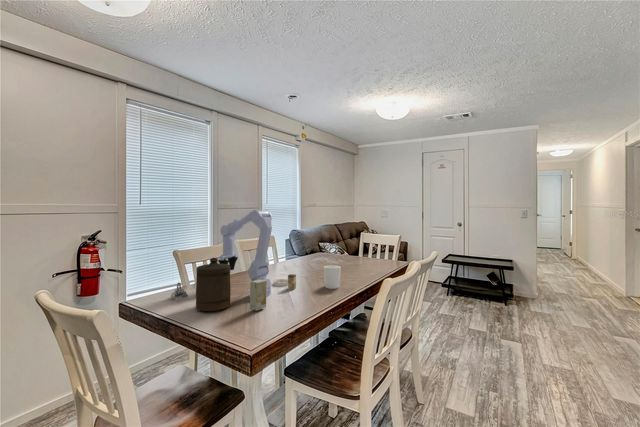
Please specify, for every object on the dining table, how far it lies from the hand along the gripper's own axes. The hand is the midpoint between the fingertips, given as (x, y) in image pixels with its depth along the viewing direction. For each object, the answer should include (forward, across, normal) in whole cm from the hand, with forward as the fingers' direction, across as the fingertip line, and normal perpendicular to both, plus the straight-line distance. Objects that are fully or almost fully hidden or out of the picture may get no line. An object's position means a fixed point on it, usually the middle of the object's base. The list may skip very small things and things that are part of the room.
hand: (228, 271), depth 163 cm
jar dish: (+10, -16, +26) cm, 32 cm away
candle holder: (+10, -17, +56) cm, 59 cm away
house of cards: (+10, +18, -18) cm, 28 cm away
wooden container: (+10, +28, +8) cm, 31 cm away
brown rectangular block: (+10, -8, +34) cm, 37 cm away
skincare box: (+10, +26, +30) cm, 41 cm away
